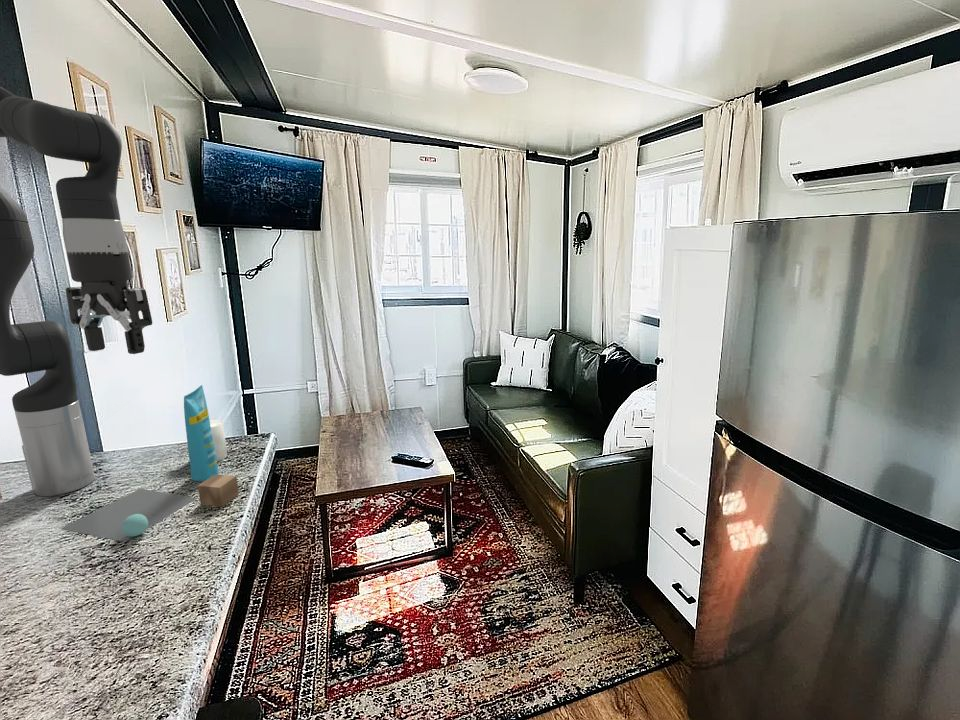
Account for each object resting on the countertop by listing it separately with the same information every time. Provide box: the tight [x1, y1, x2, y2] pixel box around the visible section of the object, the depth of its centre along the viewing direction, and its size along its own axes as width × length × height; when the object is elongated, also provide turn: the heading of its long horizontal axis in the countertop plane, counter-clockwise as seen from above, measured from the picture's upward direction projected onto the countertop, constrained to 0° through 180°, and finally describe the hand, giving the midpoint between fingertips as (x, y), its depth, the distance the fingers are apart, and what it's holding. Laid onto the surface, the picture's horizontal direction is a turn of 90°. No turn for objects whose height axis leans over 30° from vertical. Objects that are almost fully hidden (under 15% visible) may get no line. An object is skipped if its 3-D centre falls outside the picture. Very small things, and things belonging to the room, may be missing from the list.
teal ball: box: [122, 514, 148, 538], centre depth 76 cm, size 4×4×4 cm
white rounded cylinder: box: [209, 419, 228, 463], centre depth 105 cm, size 7×7×8 cm
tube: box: [183, 384, 220, 482], centre depth 94 cm, size 7×5×19 cm, turn 13°
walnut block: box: [197, 474, 240, 508], centre depth 87 cm, size 4×4×4 cm
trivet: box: [61, 488, 198, 543], centre depth 83 cm, size 14×14×1 cm
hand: (116, 351), depth 76 cm, fingers open, 8 cm apart
